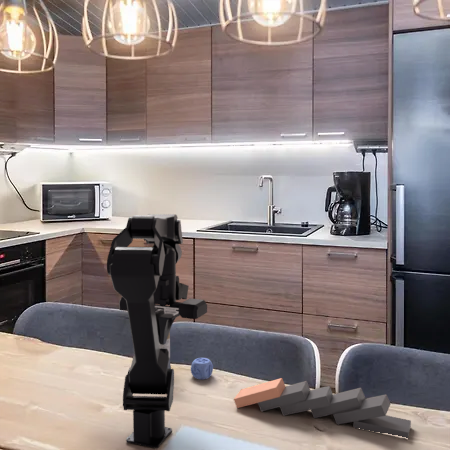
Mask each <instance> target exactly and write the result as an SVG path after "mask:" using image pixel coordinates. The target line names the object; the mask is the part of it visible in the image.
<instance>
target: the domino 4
mask: <svg viewBox="0 0 450 450" xmlns="http://www.w3.org/2000/svg"><path fill="white" fill-rule="evenodd" d="M332 394H333V393H332ZM364 399H366V396H365V393H364V391H363V389H362V387H358V388H354V389H349V390H345V391H342V392H337V393H334V394H333V397H332V400H331V403H330V406H326V407H321V408H316V409H312V410H310V411H311V414H312V416H313V418H314V419H318V418H321V417H326V416H329V415H333V414H335V413H339V412H343V411H347V410H352V409H356V408H360V407H361V406H362V403H363V401H364Z"/></svg>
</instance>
